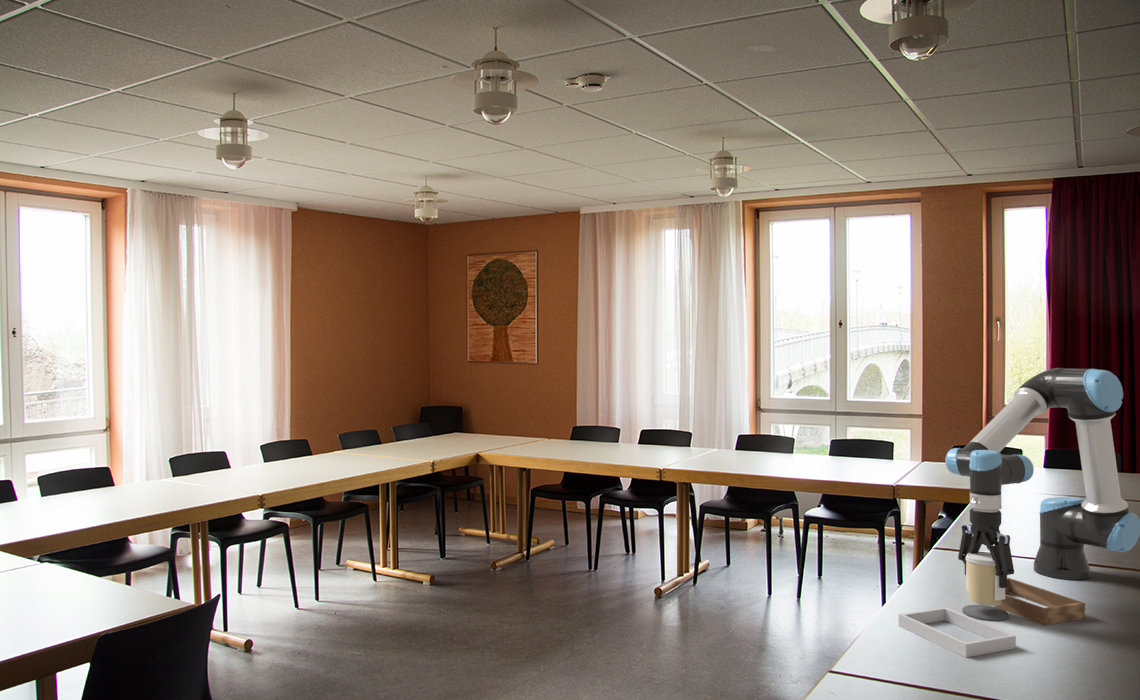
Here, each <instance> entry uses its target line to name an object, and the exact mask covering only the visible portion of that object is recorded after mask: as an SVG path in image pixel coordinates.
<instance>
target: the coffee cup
mask: <svg viewBox="0 0 1140 700" xmlns="http://www.w3.org/2000/svg"><path fill="white" fill-rule="evenodd" d="M966 566H967V580H968V590H967V591H968V592H967V593H968V599H969V601H970V602H971V603H974V604H975V605H985V606H992V607H995V606H997V605H1000V604H1001V601H1002V600H995V575H996V574H998V573H997V571H996V568H995V566H996V564H995V561H993V559H992V556H991V554H990V552H985V551H978V553H974V554H970V553H968V554H967V556H966ZM1001 570H1002V569H1001Z"/></svg>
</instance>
